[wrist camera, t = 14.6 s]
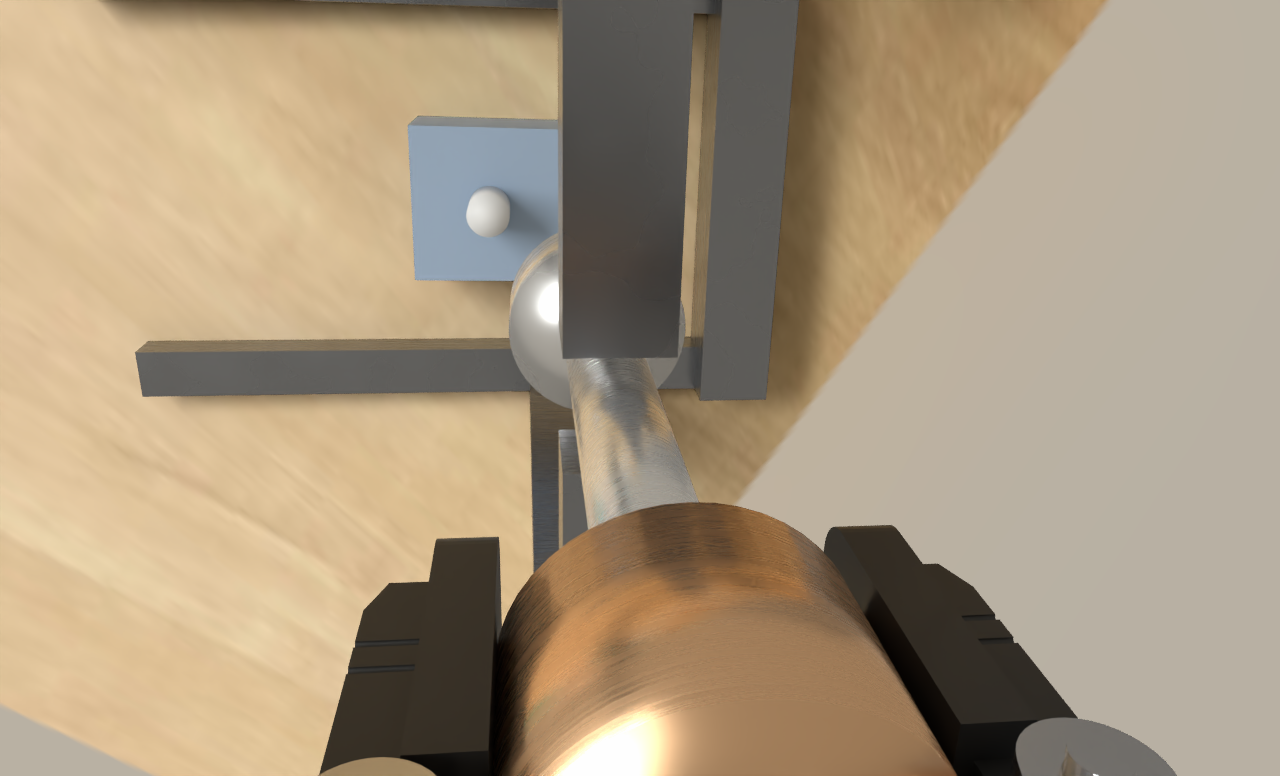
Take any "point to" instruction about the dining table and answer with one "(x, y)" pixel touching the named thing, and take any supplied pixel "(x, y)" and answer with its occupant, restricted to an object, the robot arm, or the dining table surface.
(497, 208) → the housing block
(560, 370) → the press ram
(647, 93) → the press frame
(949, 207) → the dining table surface
